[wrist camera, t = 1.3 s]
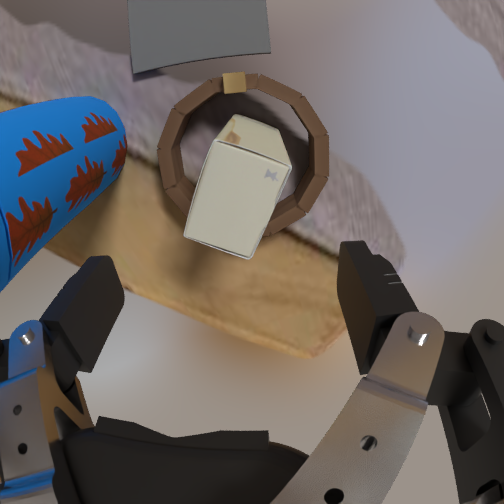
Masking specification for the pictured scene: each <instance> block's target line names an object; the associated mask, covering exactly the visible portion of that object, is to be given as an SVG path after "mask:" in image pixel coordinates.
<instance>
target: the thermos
mask: <svg viewBox="0 0 504 504" xmlns="http://www.w3.org/2000/svg"><path fill="white" fill-rule="evenodd" d="M126 151H127V140H126V134H125V128H124V126H123V124H122V122H121V120H120V118H119V116H118V114H117V112H116V111H115V110H114V109H113V108H112V107H111V106H109V105H108V104H107V103H106V102H105V101H103V100H100V99H97V98H94V97H91V96H85V97H69V98H62V99H55V100H49V101H45V102H40V103H35V104H31V105H27V106H22V107H18V108H15V109H11V110H7V111H4V112H0V292H1V291H2V290H3V289H4V288H5V287H6V285H7V284H8V283H9V282H10V281H11V280H12V279H13V278H14V277H15V275H16V274H17V273H18V272H19V271H20V270H21V269H22V268H23V267H24V266H25V265H26V264H27V262H28V261H29V260H30V259H31V258H32V257H33V256H34V255H35V254H36V253H37V252H38V251H39V250H40V249H41V248H42V247H43V246H44V245H45V244H46V243H47V242H48V241H49V240H50V239H52V238H53V237H54V236H55V235H56V234H57V233H58V232H59V231H60V230H61V229H62V228H63V227H64V226H65V225H66V224H68V223H69V222H70V221H71V220H72V219H73V218H74V217H75V216H77V215H78V214H79V213H80V212H81V211H82V210H83V209H85V208H86V207H87V206H88V205H89V204H90V203H91V202H92V201H93V200H94V199H95V198H96V197H97V196H99V195H100V194H101V193H102V192H103V191H104V190H105V189H106V188H107V187H108V186H109V185H110V184H111V183H112V182H113V181H114V180H115V179H116V178H117V177H118V175H119V173H120V171H121V169H122V167H123V165H124V163H125V157H126Z"/></svg>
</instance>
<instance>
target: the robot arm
mask: <svg viewBox="0 0 504 504" xmlns="http://www.w3.org/2000/svg"><path fill="white" fill-rule="evenodd" d="M337 294H338V299H339V302H340V306H341V309H342V312H343V316H344V319H345V322H346V326H347V329H348V333H349V336H350V339H351V343H352V347H353V350H354V354H355V358H356V361H357V365H358V369H359V372H360V375H363V374H367V376H366V377H363V378H362V379H361V380H360V382H359V383H358V385H357V387H356V388H355V390H354V392H353V393H352V395H351V396H350V398H349V400H348V401H347V403H346V404H345V406H344V408H343V409H342V411H341V412H340V414H339V415H338V417H337V418H336V420H335V421H334V423H333V424H332V426H331V427H330V429H329V430H328V432H327V433H326V434H325V436H324V437H323V439H322V440H321V441H320V443H319V444H318V446H317V447H316V448H315V450H314V451H313V452H312V454H311V455H310V456H309V455H307V454H305V453H304V452H301V451H299V450H297V449H295V448H292V447H289V446H286V445H283V444H280V443H275V442H270V441H269V433H268V431H216V432H210V433H204V434H198V435H192V436H185V437H178V438H174V437H169V436H166V435H164V434H161V433H159V432H156V431H153V430H151V429H148V428H146V427H144V426H141V425H139V424H137V423H134V422H129V421H123V420H117V419H112V418H107V417H101V416H99V417H98V420H97V423H96V426H94V424H93V422H92V420H91V417H90V414H89V411H88V408H87V404H86V401H85V398H84V394H83V391H82V388H81V384H80V381H79V379H78V378H77V376H76V374H77V372H78V371H82V372H88V373H91V372H92V370H93V368H94V366H95V363H96V361H97V359H98V357H99V355H100V353H101V350H102V348H103V346H104V344H105V342H106V340H107V338H108V336H109V334H110V332H111V329H112V327H113V325H114V323H115V321H116V319H117V317H118V315H119V313H120V311H121V309H122V307H123V305H124V290H123V288H122V285H121V282H120V280H119V277H118V274H117V272H116V269H115V266H114V263H113V261H112V259H111V257H110V256H107V255H106V256H91V257H89V258H88V259H87V260H86V262H85V263H84V264H83V265H82V267H81V268H80V269H79V270H78V272H77V273H76V274H74V275H73V276H72V277H71V278H70V279H69V280H68V281H67V282H66V284H65V285H64V286H63V289H61V290H60V292H59V293H58V294H57V296H56V297H55V298H54V300H53V301H52V302H51V304H50V305H49V307H48V308H47V309H46V311H45V312H44V314H43V315H42V317H41V318H40V319H39V321H37V320H30V321H27V322H24V323H22V324H21V325H20V326H18V328H16V329H15V331H14V332H13V333H12V335H11V337H10V339H5V340H1V339H0V504H381V503H382V501H383V500H384V498H385V497H386V495H387V493H388V491H389V490H390V488H391V486H392V484H393V482H394V481H395V479H396V477H397V475H398V473H399V471H400V469H401V467H402V465H403V463H404V461H405V459H406V457H407V455H408V453H409V451H410V448H411V446H412V444H413V442H414V439H415V437H416V434H417V433H418V430H419V428H420V425H421V423H422V420H423V418H424V415H425V412H426V409H427V406H428V405H437V406H438V409H439V412H440V416H441V419H442V423H443V427H444V431H445V435H446V438H447V442H448V447H449V451H450V455H451V460H452V464H453V469H454V474H455V479H456V485H457V491H458V497H459V503H460V504H504V326H503V325H501V324H500V323H498V322H496V321H494V320H490V319H482V320H479V321H477V322H476V323H475V324H474V325H473V327H472V329H471V331H470V333H469V334H468V333H458V332H448V331H444V330H443V327H442V325H441V324H440V323H439V322H438V321H437V320H436V319H435V318H434V317H432V316H430V315H428V314H426V313H422V312H419V311H418V309H417V307H416V305H415V303H414V302H413V300H412V298H411V296H410V294H409V293H408V291H407V289H406V288H405V286H404V284H403V283H402V282H401V279H400V277H399V276H398V275H397V272H396V271H395V269H394V268H393V266H392V264H391V263H390V262H389V261H388V260H386V259H385V258H384V257H382V256H381V255H380V254H378V255H372V253H371V251H370V250H369V248H368V246H367V245H366V243H365V241H363V240H362V241H344V242H341V244H340V252H339V264H338V275H337ZM481 393H482V394H483V397H484V399H485V402H486V404H487V407H488V410H489V413H490V417H491V420H490V417H489V414H488V411H487V408H486V405H485V403H484V400H483V398H482V395H481ZM4 480H5V481H4Z"/></svg>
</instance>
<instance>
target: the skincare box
mask: <svg viewBox="0 0 504 504" xmlns="http://www.w3.org/2000/svg"><path fill="white" fill-rule="evenodd" d="M291 170H292V165H291V163H290V160H289V157H288V154H287V151H286V148H285V146H284V143H283V140H282V138H281V135H280V132H279V130H278V129H277V128H274V127H272V126H270V125H267V124H265V123H262V122H260V121H257V120H254V119H251V118H249V117H245V116H242V115H239V114H234V115H233V116H232V118H231V119H230V120H229V122H228V123H227V124H226V125H225V127H224V128H223V129H222V131H221V132H220V133H219V134H218V136H217V137H216V138H215V139H214V140H213V142H212V144H211V147H210V149H209V151H208V154H207V156H206V159H205V162H204V164H203V167H202V170H201V173H200V176H199V179H198V182H197V185H196V189H195V192H194V196H193V199H192V203H191V206H190V210H189V214H188V218H187V222H186V226H185V230H184V237H186V238H188V239H191V240H194V241H197V242H199V243H202V244H205V245H207V246H210V247H212V248H215V249H218V250H221V251H224V252H227V253H229V254H232V255H235V256H238V257H241V258H244V259H251V258H252V257H253V254H254V252H255V250H256V248H257V246H258V244H259V242H260V239H261V237H262V235H263V233H264V231H265V228H266V226H267V224H268V222H269V220H270V217H271V215H272V213H273V211H274V208H275V206H276V204H277V201H278V199H279V197H280V195H281V192H282V190H283V188H284V186H285V183H286V181H287V178H288V176H289V174H290V172H291Z"/></svg>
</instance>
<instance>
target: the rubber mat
mask: <svg viewBox="0 0 504 504" xmlns="http://www.w3.org/2000/svg"><path fill="white" fill-rule="evenodd" d="M127 3H128V21H129V35H130V47H131V58H132V67H133V74H138V73H142V72H146V71H150V70H154V69H159V68H163V67H167V66H173V65H178V64H183V63H188V62H195V61H201V60H208V59H215V58H223V57H232V56H242V55H254V54H270V53H271V47H270V38H269V28H268V18H267V7H266V0H127Z"/></svg>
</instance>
